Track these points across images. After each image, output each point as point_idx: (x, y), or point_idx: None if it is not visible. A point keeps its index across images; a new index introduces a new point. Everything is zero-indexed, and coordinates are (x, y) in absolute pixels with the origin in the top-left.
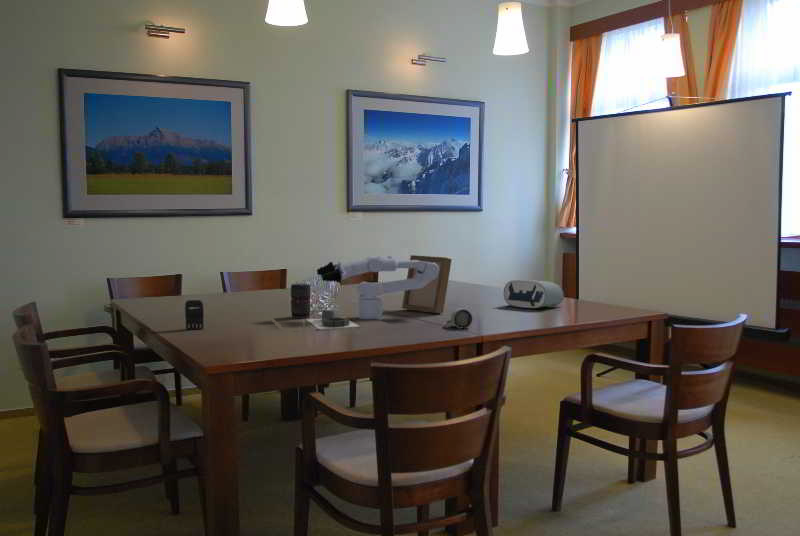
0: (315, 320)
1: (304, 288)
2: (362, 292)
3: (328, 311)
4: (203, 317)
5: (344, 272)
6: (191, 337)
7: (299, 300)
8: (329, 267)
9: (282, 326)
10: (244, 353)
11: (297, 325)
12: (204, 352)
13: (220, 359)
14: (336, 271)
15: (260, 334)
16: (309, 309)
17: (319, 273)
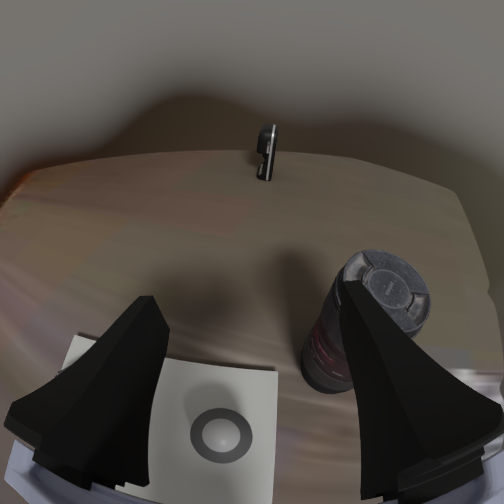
0: (235, 394)
1: (338, 304)
2: None
3: (191, 427)
4: (268, 163)
5: (24, 490)
6: (188, 164)
7: (319, 317)
8: (388, 422)
9: (216, 288)
10: (40, 193)
11: (212, 328)
12: (82, 168)
13: (42, 177)
14: (28, 394)
15: (139, 227)
16: (324, 380)
17: (343, 327)
